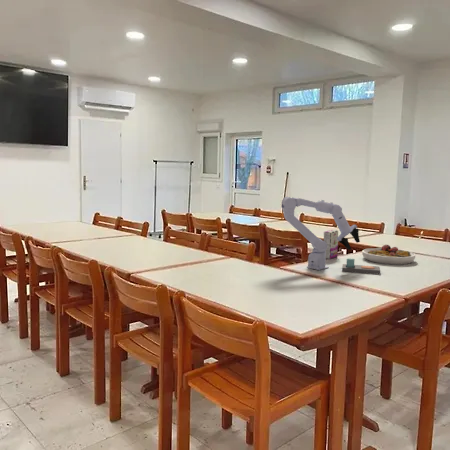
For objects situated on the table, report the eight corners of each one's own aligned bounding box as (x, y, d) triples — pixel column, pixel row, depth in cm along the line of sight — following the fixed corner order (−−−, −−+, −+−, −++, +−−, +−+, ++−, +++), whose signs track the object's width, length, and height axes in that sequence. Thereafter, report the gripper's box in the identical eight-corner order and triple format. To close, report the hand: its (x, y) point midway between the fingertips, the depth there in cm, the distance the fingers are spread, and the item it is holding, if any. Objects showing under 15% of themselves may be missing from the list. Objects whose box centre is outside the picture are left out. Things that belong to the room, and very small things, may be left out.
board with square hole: (342, 271, 238) (342, 267, 238) (342, 267, 248) (342, 264, 247) (380, 274, 233) (380, 270, 233) (379, 270, 243) (379, 266, 242)
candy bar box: (330, 255, 282) (331, 229, 280) (337, 256, 279) (338, 230, 277) (322, 258, 274) (323, 231, 272) (330, 259, 270) (331, 232, 268)
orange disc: (370, 269, 234) (370, 269, 234) (358, 267, 239) (358, 266, 239) (377, 267, 239) (377, 267, 239) (365, 265, 244) (365, 265, 244)
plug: (351, 271, 239) (351, 260, 238) (344, 270, 242) (345, 258, 241) (355, 270, 242) (356, 259, 241) (349, 269, 245) (349, 258, 244)
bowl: (419, 267, 254) (420, 253, 253) (364, 264, 260) (365, 250, 259) (409, 257, 283) (410, 245, 282) (359, 254, 289) (360, 242, 288)
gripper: (339, 229, 237) (350, 252, 239) (356, 216, 244) (367, 238, 245) (330, 231, 243) (341, 253, 245) (347, 218, 250) (358, 239, 252)
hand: (354, 245), depth 246 cm, fingers open, 7 cm apart
